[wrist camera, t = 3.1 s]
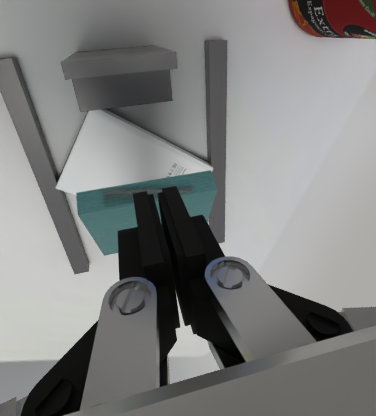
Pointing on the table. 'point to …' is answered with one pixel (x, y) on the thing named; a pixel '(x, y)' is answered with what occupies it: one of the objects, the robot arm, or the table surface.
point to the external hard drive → (121, 155)
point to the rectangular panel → (125, 211)
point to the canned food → (336, 17)
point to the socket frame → (112, 98)
